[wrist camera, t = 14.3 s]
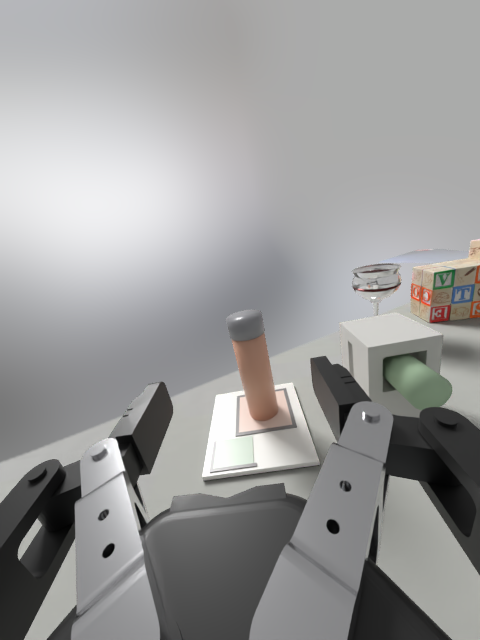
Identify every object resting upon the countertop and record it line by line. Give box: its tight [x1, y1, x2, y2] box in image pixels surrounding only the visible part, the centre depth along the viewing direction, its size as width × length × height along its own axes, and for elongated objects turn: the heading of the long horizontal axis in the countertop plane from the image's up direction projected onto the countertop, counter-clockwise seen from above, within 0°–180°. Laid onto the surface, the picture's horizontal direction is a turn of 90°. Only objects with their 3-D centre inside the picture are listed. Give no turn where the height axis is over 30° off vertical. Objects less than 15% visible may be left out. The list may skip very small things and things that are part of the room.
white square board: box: [202, 383, 320, 481], centre depth 27 cm, size 11×12×1 cm
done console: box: [339, 312, 443, 418], centre depth 23 cm, size 6×6×10 cm
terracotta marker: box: [226, 310, 278, 421], centre depth 26 cm, size 4×4×12 cm
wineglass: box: [352, 263, 401, 316], centre depth 38 cm, size 7×7×12 cm
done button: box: [383, 353, 452, 410], centre depth 19 cm, size 3×4×3 cm
